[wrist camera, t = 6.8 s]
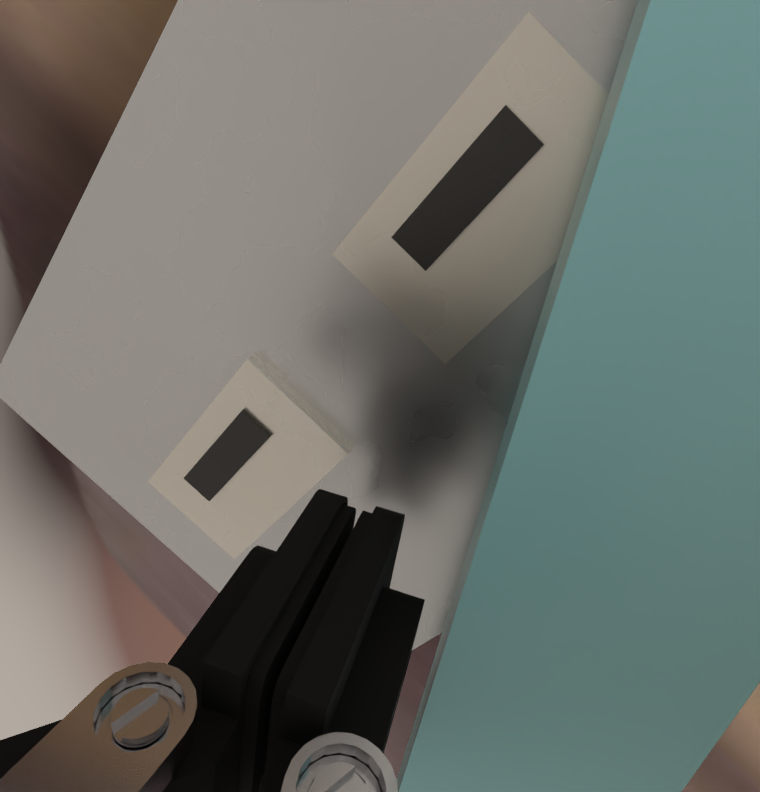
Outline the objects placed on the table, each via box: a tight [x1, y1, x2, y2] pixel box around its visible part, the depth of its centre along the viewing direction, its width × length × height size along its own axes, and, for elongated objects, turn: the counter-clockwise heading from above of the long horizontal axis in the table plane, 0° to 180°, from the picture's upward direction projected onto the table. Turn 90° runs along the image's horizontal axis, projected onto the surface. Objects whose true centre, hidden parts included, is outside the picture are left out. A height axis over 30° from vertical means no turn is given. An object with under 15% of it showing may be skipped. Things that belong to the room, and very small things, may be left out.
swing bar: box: [397, 0, 760, 792], centre depth 11 cm, size 19×4×11 cm, turn 171°
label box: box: [0, 0, 638, 650], centre depth 14 cm, size 16×12×6 cm
